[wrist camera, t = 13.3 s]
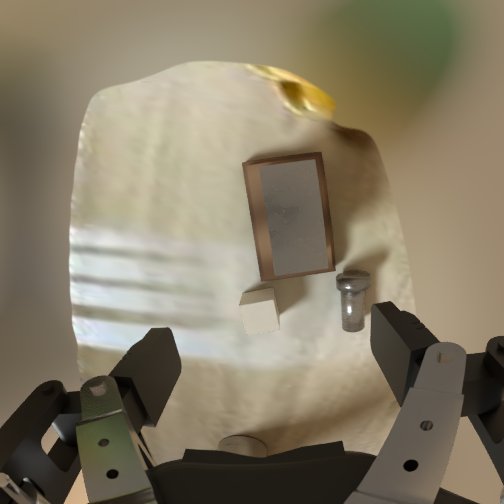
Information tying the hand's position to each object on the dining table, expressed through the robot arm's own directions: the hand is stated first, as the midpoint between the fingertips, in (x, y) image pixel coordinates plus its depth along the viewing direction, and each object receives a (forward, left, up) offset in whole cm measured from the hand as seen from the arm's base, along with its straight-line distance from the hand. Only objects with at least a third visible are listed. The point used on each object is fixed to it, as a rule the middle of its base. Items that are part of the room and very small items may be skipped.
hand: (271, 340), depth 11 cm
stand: (+2, -2, -24) cm, 24 cm away
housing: (+2, -2, -22) cm, 22 cm away
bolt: (-10, -9, -24) cm, 28 cm away
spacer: (-9, +3, -24) cm, 26 cm away
